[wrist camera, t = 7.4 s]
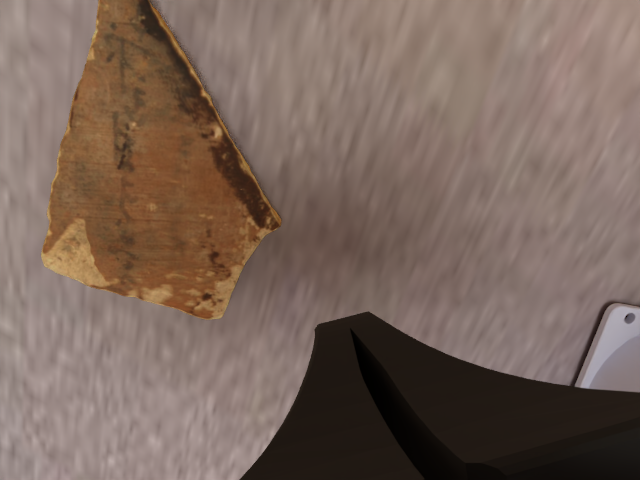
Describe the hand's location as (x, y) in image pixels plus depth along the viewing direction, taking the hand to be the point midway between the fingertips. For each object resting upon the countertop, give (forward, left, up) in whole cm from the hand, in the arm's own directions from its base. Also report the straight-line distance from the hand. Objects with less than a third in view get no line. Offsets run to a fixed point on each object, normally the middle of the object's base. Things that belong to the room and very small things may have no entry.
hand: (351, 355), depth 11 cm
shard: (+7, -2, -9) cm, 11 cm away
